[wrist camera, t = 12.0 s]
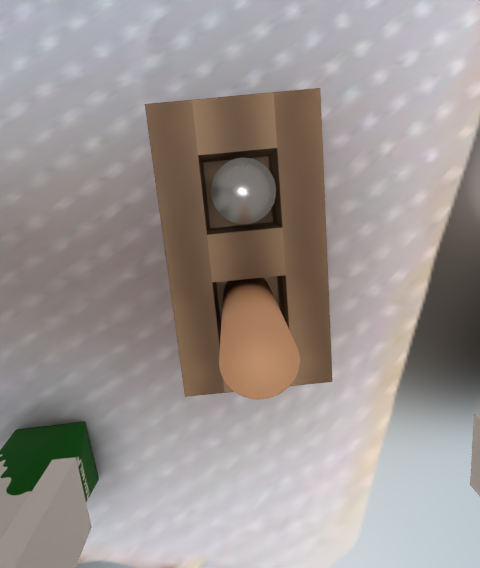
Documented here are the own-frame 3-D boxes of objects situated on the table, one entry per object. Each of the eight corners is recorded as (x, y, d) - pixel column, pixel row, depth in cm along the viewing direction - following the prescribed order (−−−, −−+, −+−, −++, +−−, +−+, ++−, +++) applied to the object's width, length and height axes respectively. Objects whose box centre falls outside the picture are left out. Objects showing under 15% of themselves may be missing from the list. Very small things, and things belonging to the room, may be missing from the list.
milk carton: (4, 422, 39) (-222, 653, 19) (93, 412, 39) (-42, 630, 19) (25, 496, 41) (-160, 772, 21) (110, 485, 41) (3, 751, 21)
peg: (225, 319, 36) (223, 402, 21) (220, 274, 35) (214, 328, 20) (272, 315, 36) (302, 394, 21) (268, 269, 35) (297, 319, 20)
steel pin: (218, 218, 34) (215, 227, 24) (213, 171, 33) (207, 161, 23) (263, 214, 34) (278, 221, 24) (259, 167, 33) (273, 154, 23)
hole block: (192, 360, 38) (185, 396, 31) (161, 123, 33) (144, 104, 26) (313, 348, 38) (332, 381, 31) (300, 110, 33) (320, 88, 26)
